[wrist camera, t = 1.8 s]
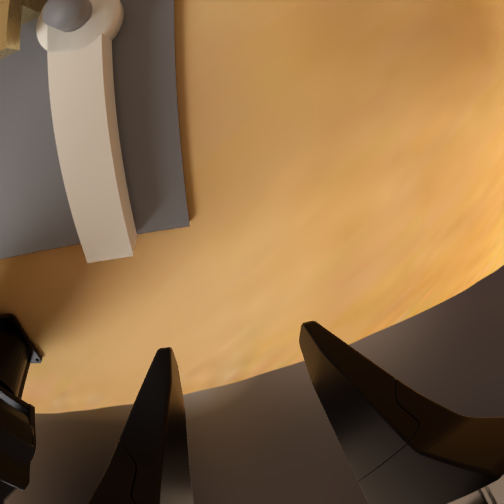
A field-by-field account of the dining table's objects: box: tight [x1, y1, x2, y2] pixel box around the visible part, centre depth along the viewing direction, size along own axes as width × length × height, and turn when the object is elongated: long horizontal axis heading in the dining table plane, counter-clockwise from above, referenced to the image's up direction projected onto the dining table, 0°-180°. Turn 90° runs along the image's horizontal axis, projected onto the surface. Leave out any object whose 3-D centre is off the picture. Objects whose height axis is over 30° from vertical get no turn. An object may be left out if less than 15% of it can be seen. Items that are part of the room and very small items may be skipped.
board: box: [0, 0, 190, 259], centre depth 11 cm, size 21×21×1 cm
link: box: [36, 0, 137, 263], centre depth 11 cm, size 16×4×4 cm, turn 1°
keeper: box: [0, 0, 46, 60], centre depth 7 cm, size 6×4×5 cm
